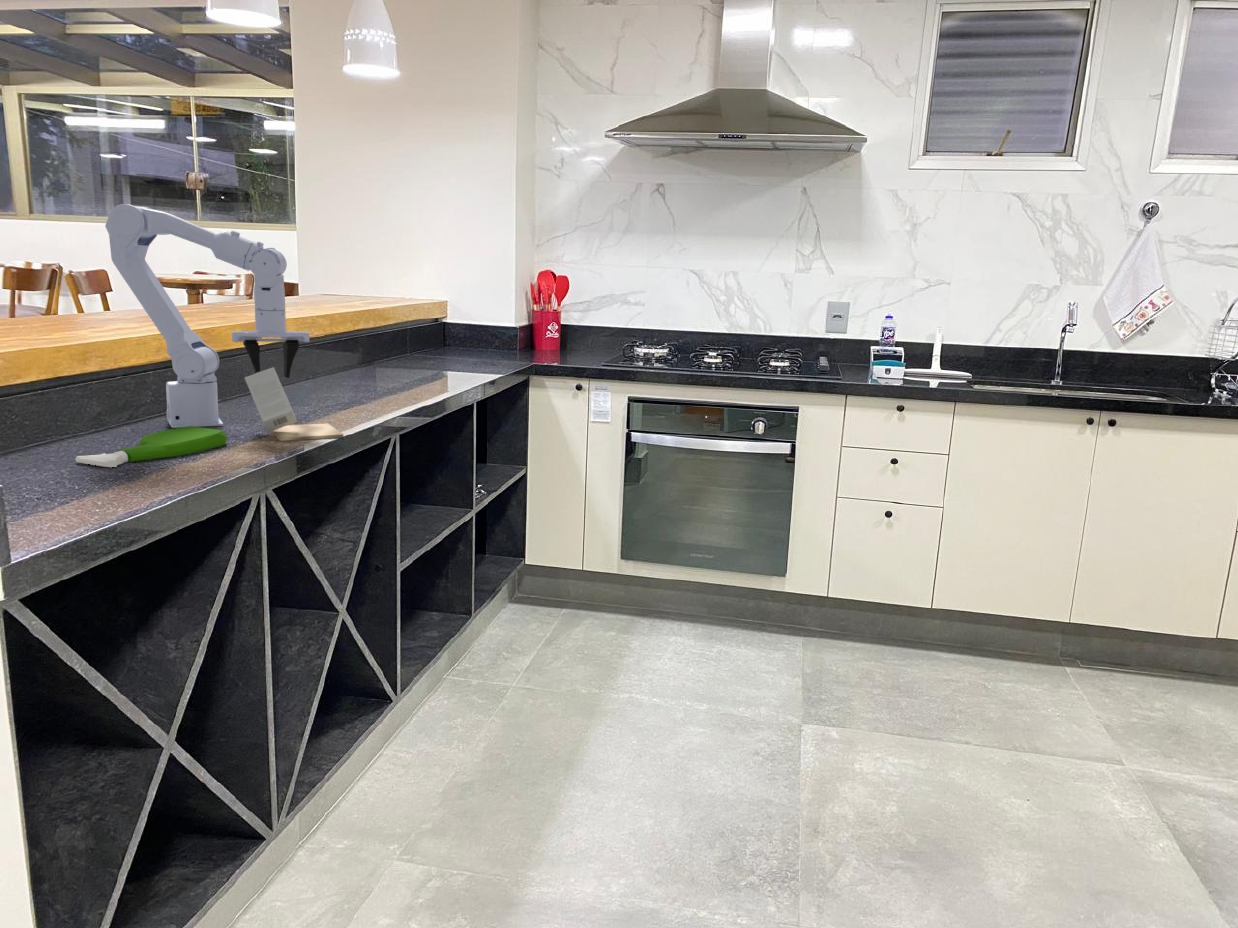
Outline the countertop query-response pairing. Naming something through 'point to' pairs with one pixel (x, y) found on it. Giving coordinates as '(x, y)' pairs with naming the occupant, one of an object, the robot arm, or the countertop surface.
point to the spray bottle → (162, 446)
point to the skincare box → (270, 399)
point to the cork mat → (306, 432)
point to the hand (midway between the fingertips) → (272, 377)
